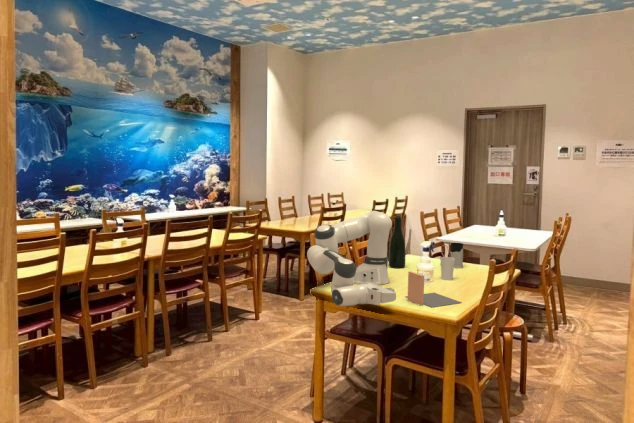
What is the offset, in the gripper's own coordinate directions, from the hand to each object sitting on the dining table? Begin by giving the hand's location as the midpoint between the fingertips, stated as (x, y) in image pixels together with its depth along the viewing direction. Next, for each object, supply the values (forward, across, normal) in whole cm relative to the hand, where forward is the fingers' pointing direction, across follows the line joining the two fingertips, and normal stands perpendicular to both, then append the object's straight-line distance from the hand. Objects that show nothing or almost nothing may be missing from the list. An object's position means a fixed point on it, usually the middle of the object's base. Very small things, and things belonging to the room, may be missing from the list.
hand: (392, 290), depth 231 cm
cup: (+60, -32, -8) cm, 68 cm away
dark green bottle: (+53, -72, -8) cm, 89 cm away
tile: (+13, 0, -7) cm, 15 cm away
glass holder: (+86, -58, -8) cm, 104 cm away
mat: (+24, 0, -7) cm, 25 cm away
